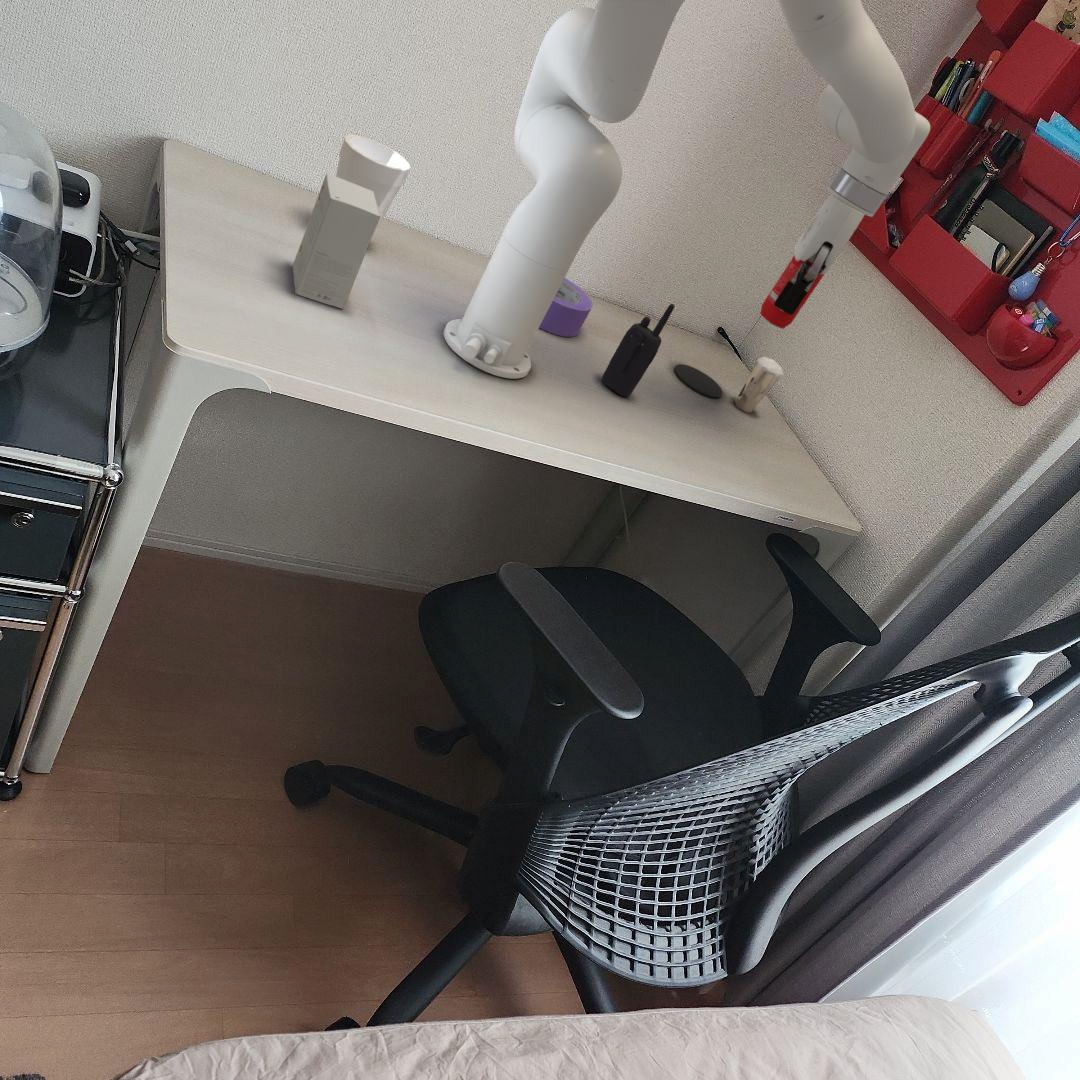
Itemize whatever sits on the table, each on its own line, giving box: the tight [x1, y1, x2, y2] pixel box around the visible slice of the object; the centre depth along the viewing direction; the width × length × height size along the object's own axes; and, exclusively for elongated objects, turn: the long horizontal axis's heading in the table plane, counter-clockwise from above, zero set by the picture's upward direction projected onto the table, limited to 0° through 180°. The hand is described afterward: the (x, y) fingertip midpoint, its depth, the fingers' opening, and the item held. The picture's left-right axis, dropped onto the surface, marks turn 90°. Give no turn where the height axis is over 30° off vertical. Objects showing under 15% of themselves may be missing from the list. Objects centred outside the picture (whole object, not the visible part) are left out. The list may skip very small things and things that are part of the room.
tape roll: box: [538, 277, 594, 338], centre depth 155 cm, size 12×12×5 cm
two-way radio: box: [601, 303, 676, 397], centre depth 142 cm, size 6×4×15 cm
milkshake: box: [734, 356, 794, 414], centre depth 163 cm, size 4×5×10 cm
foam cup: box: [335, 134, 411, 236], centre depth 141 cm, size 10×9×13 cm
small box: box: [292, 173, 380, 310], centre depth 124 cm, size 8×6×13 cm
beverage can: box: [759, 250, 826, 329], centre depth 148 cm, size 5×5×12 cm
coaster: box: [673, 363, 724, 400], centre depth 165 cm, size 9×9×1 cm
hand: (783, 303), depth 150 cm, fingers closed on beverage can, 5 cm apart
